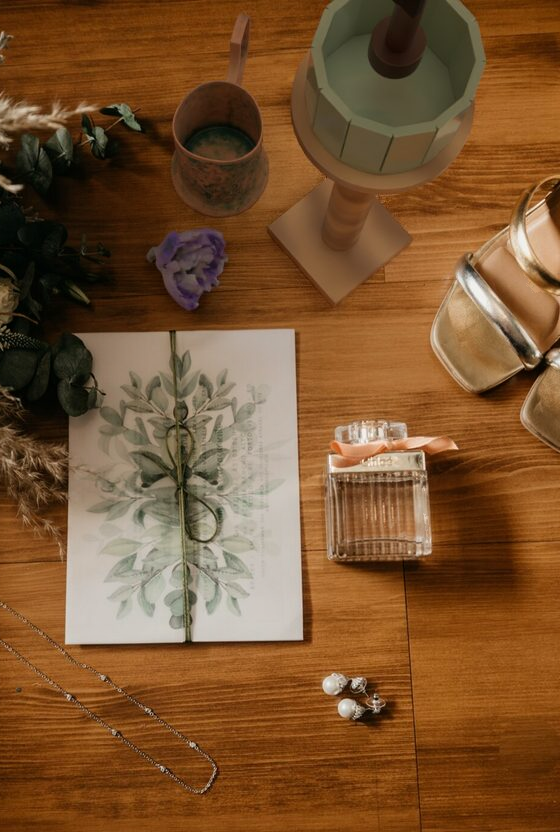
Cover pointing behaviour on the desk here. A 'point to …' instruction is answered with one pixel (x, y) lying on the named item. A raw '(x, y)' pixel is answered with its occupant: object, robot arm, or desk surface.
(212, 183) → the mug
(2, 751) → the desk surface
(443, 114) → the bowl
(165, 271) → the flower
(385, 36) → the dark brown stemmed peg
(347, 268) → the stand
